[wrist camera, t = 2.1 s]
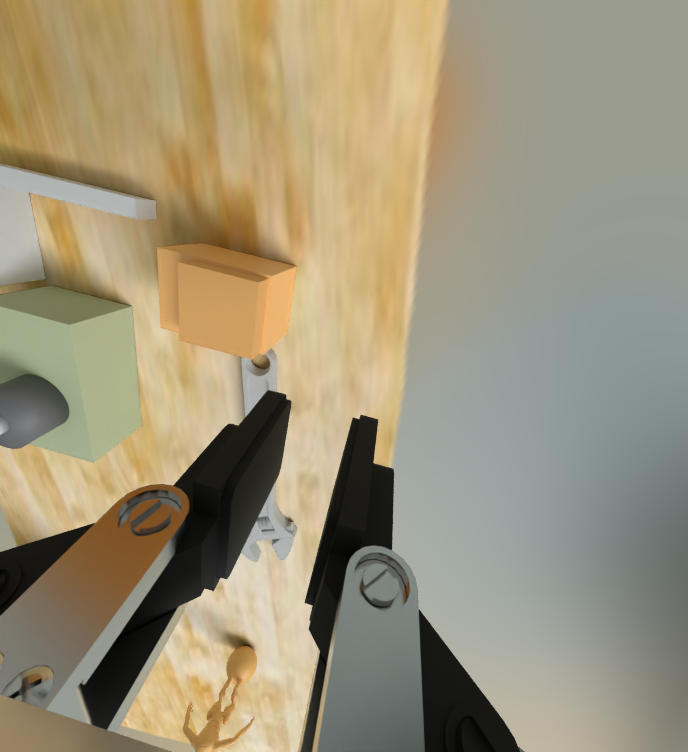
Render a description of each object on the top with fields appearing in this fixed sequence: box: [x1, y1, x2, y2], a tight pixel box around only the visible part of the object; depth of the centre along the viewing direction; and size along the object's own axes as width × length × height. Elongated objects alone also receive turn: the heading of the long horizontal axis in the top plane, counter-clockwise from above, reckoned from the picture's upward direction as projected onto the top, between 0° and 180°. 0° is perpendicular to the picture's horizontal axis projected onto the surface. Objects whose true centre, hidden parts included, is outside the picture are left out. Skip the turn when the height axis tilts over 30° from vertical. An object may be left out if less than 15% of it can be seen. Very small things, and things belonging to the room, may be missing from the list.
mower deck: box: [0, 164, 157, 463], centre depth 23 cm, size 20×11×10 cm, turn 168°
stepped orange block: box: [157, 243, 297, 360], centre depth 21 cm, size 5×7×6 cm
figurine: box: [183, 646, 257, 752], centre depth 40 cm, size 8×6×12 cm
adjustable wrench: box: [241, 349, 297, 562], centre depth 31 cm, size 25×6×2 cm, turn 171°
